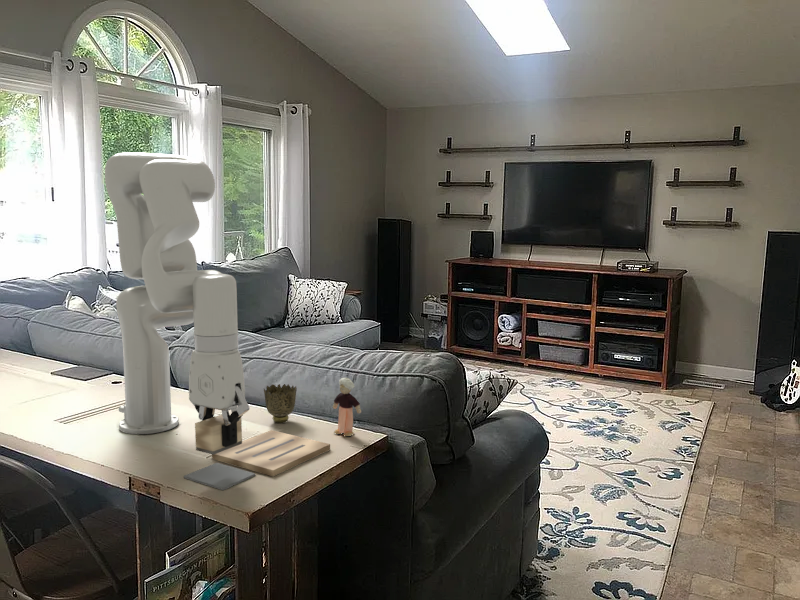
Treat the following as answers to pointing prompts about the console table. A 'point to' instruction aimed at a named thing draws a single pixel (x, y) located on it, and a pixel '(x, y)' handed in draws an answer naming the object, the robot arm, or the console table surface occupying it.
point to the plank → (272, 452)
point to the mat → (219, 476)
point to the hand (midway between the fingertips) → (219, 441)
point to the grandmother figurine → (346, 407)
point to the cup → (280, 401)
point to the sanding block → (213, 435)
